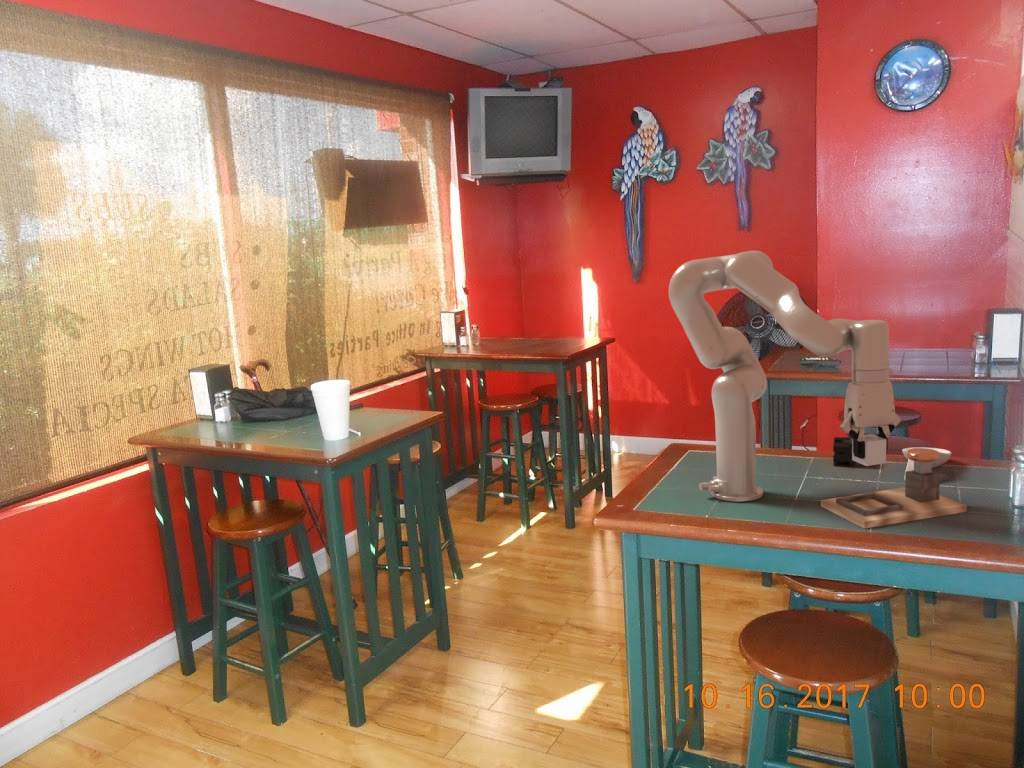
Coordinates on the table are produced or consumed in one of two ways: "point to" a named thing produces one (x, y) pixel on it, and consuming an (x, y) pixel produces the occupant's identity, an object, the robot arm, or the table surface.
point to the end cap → (843, 452)
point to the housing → (872, 450)
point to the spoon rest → (943, 457)
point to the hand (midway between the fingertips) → (870, 454)
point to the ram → (923, 460)
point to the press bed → (896, 503)
